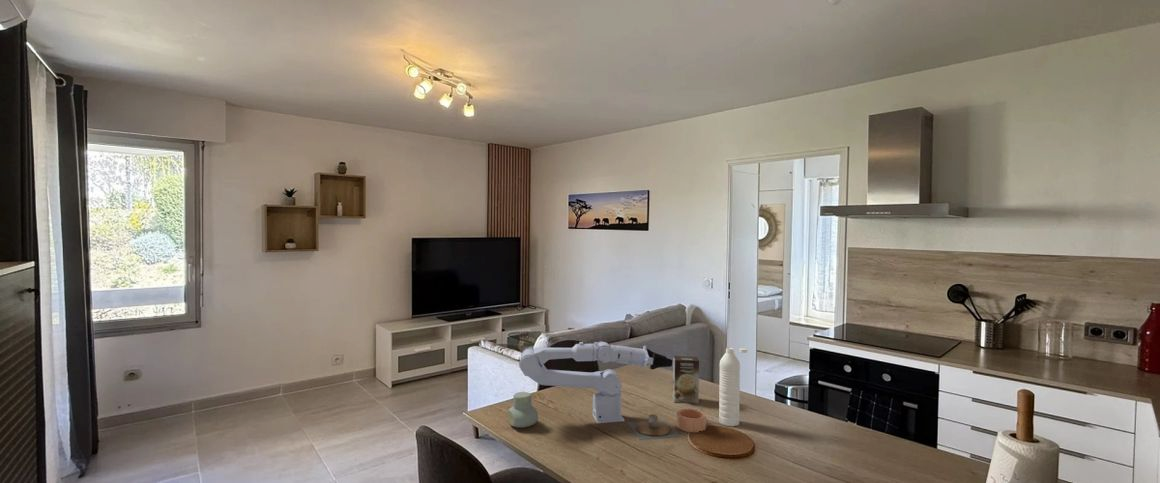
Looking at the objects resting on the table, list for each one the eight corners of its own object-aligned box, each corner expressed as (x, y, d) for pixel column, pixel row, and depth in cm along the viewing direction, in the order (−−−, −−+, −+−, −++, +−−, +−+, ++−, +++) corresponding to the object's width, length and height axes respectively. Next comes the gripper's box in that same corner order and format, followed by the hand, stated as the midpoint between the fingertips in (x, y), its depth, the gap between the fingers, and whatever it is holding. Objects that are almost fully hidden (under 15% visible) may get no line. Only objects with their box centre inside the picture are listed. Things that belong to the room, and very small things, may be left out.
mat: (639, 441, 147) (639, 439, 146) (627, 424, 159) (627, 422, 159) (680, 437, 149) (680, 436, 149) (665, 421, 162) (665, 419, 162)
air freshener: (505, 421, 162) (505, 391, 162) (528, 416, 166) (528, 387, 165) (516, 433, 152) (516, 401, 152) (540, 428, 156) (540, 397, 156)
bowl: (683, 434, 151) (683, 420, 151) (673, 423, 160) (673, 409, 160) (710, 432, 153) (710, 418, 153) (698, 421, 162) (698, 407, 162)
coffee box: (673, 403, 179) (674, 359, 178) (672, 397, 185) (672, 355, 185) (699, 403, 178) (699, 360, 177) (696, 397, 184) (696, 356, 184)
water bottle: (719, 425, 158) (719, 349, 157) (718, 418, 164) (719, 345, 164) (747, 428, 156) (748, 351, 155) (745, 420, 162) (746, 346, 162)
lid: (641, 437, 148) (641, 424, 148) (631, 423, 158) (631, 410, 158) (675, 435, 150) (675, 421, 150) (663, 421, 160) (663, 408, 160)
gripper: (635, 346, 157) (676, 352, 158) (627, 341, 171) (665, 347, 172) (632, 368, 156) (673, 374, 157) (625, 361, 171) (662, 367, 171)
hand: (668, 361), depth 165 cm, fingers open, 7 cm apart
